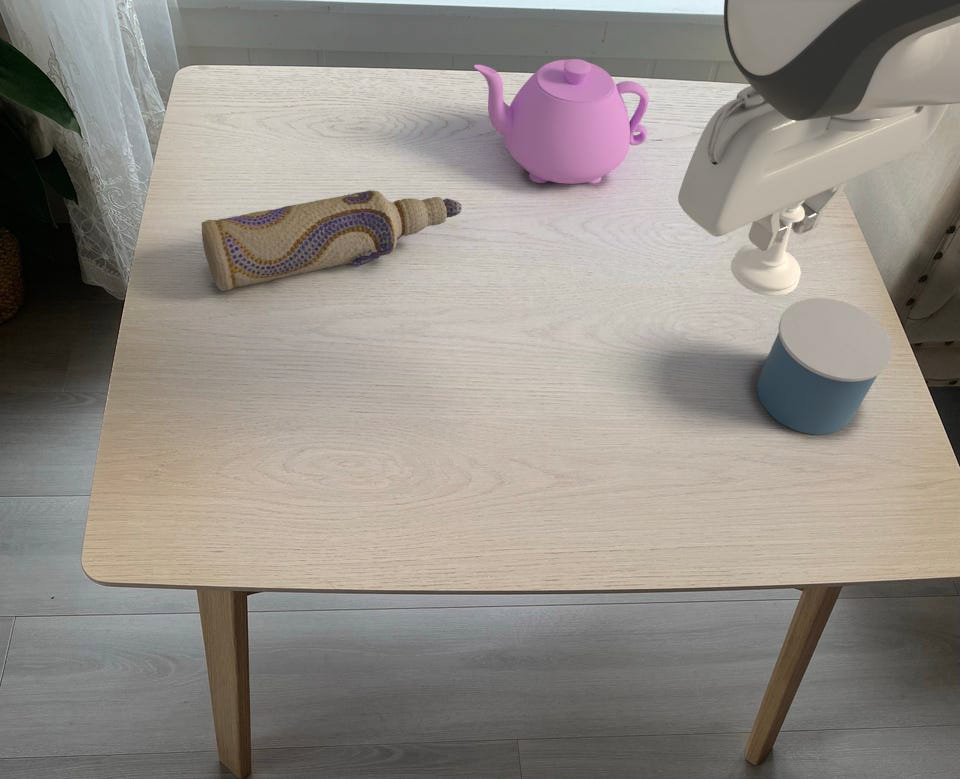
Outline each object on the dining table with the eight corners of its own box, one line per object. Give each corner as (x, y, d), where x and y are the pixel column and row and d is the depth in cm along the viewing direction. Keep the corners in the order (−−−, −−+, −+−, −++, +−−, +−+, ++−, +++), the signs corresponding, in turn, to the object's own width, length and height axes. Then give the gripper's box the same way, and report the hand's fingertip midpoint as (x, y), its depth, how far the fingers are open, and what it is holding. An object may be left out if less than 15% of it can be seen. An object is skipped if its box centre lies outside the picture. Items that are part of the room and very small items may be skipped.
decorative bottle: (221, 310, 90) (211, 256, 85) (205, 259, 94) (194, 205, 89) (474, 254, 97) (478, 201, 92) (447, 209, 102) (450, 157, 97)
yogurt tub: (871, 438, 85) (908, 379, 79) (767, 437, 84) (796, 378, 78) (840, 358, 91) (872, 298, 85) (743, 357, 90) (768, 296, 84)
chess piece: (718, 255, 70) (758, 140, 62) (777, 245, 71) (823, 130, 63) (751, 301, 67) (797, 186, 59) (811, 289, 68) (864, 175, 60)
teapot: (471, 198, 103) (478, 100, 94) (464, 123, 112) (470, 27, 103) (651, 201, 105) (675, 104, 96) (629, 126, 114) (650, 32, 105)
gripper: (765, 128, 50) (700, 315, 60) (1004, 37, 58) (911, 215, 68) (686, 69, 53) (637, 256, 63) (923, -9, 61) (845, 168, 72)
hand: (781, 234), depth 66 cm, fingers closed on chess piece
